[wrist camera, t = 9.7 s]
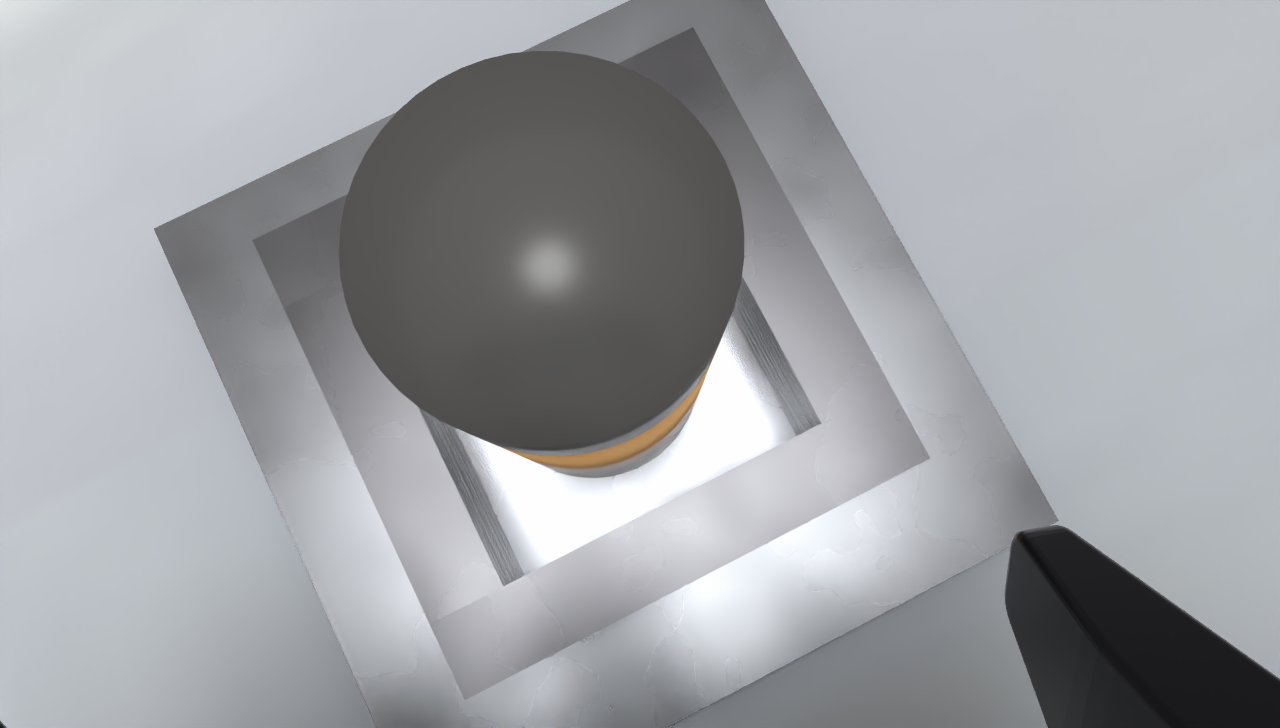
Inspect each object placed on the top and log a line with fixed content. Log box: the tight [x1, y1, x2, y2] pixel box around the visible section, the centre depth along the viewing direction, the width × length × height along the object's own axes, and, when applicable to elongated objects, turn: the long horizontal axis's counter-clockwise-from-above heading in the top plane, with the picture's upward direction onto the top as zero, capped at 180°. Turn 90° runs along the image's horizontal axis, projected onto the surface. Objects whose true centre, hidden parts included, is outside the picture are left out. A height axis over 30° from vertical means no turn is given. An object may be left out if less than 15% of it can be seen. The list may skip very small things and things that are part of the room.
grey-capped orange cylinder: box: [339, 51, 744, 478], centre depth 16 cm, size 4×4×10 cm
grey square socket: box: [154, 0, 1058, 728], centre depth 20 cm, size 14×14×4 cm
